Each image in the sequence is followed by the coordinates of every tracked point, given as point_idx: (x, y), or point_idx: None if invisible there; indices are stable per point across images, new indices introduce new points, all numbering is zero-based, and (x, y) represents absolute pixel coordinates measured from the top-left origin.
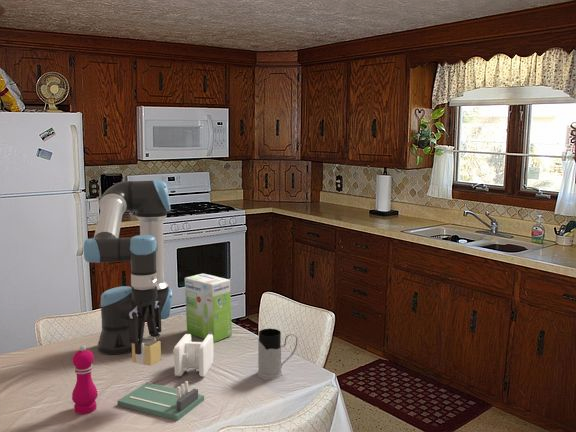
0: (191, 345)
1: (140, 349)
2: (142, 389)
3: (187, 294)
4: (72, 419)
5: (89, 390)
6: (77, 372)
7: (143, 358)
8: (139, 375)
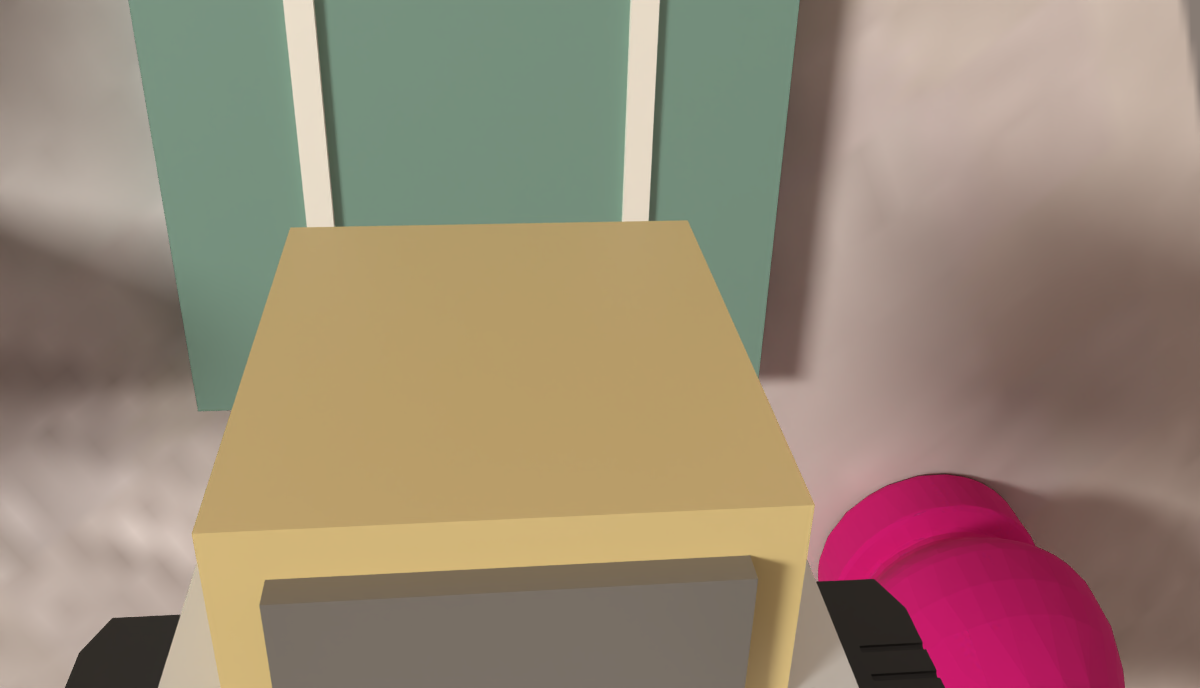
0: None
1: (855, 669)
2: None
3: None
4: (1113, 518)
5: (1075, 646)
6: None
7: None
8: (30, 628)
